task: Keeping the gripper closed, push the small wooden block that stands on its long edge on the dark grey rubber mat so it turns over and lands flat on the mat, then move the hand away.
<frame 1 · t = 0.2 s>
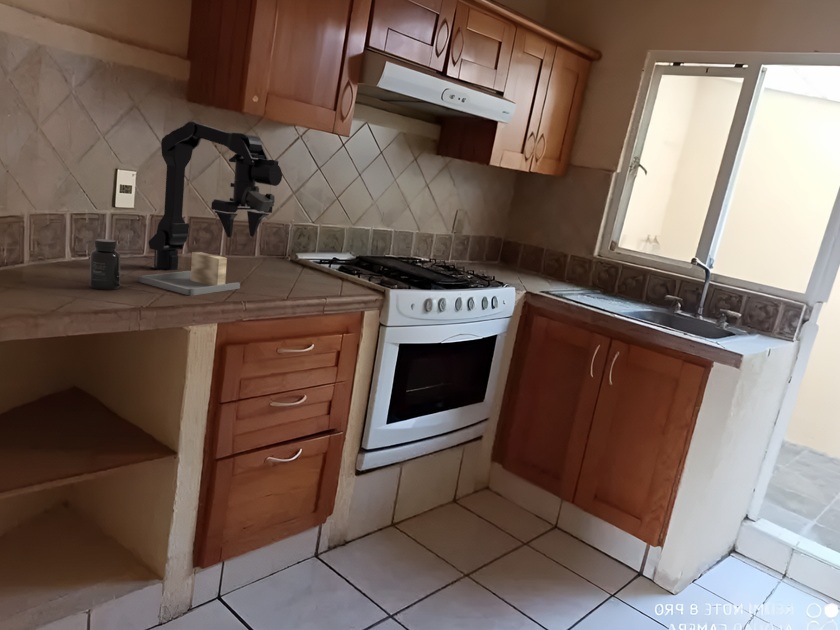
hand: (240, 237, 175), 14 cm above the countertop, tool pointing down, fingers open, 9 cm apart
mat: (190, 286, 170), on the countertop
wooden block: (207, 283, 175), resting on mat
supplement bottle: (104, 288, 157), on the countertop
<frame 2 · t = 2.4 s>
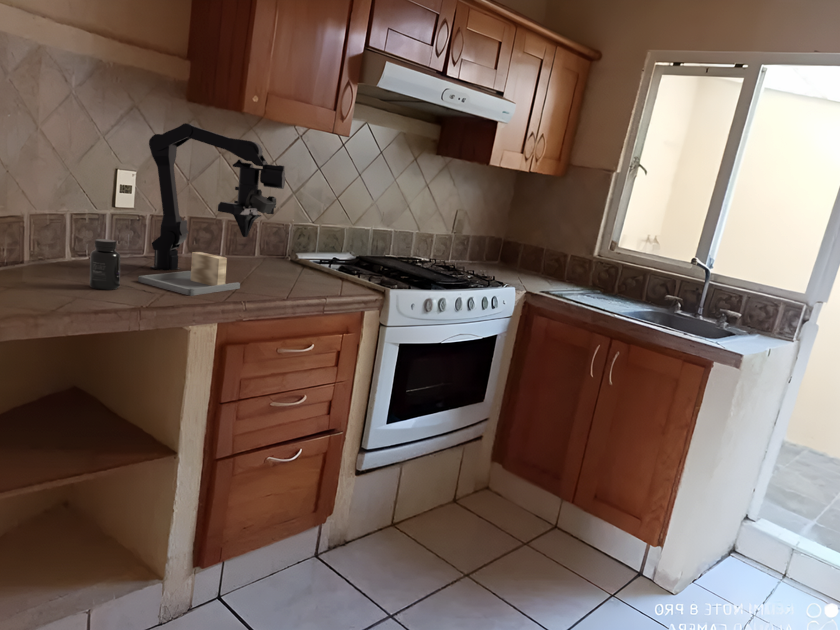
hand: (244, 236, 187), 13 cm above the countertop, tool pointing down, fingers closed
nothing on the countertop moved.
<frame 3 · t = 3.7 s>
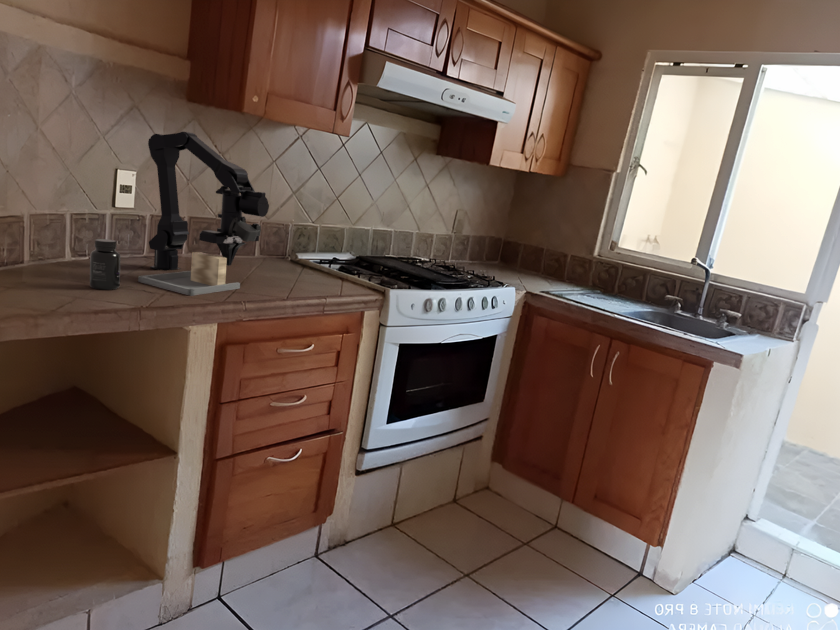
hand: (228, 265, 181), 5 cm above the countertop, tool pointing down, fingers closed
nothing on the countertop moved.
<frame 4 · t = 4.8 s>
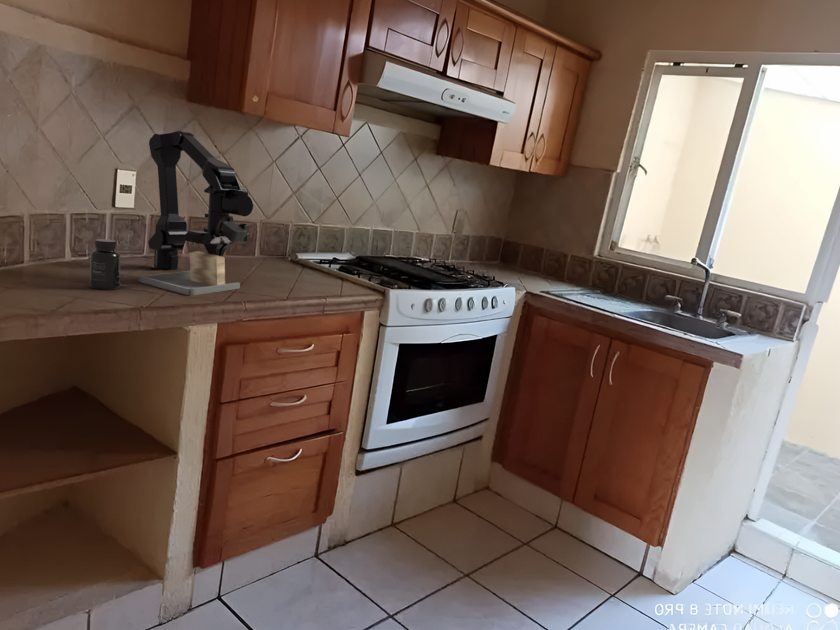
hand: (216, 266, 177), 5 cm above the countertop, tool pointing down, fingers closed
wooden block: (207, 282, 175), point 1 cm above the countertop, tilted 7°, touching mat
everything else where it was.
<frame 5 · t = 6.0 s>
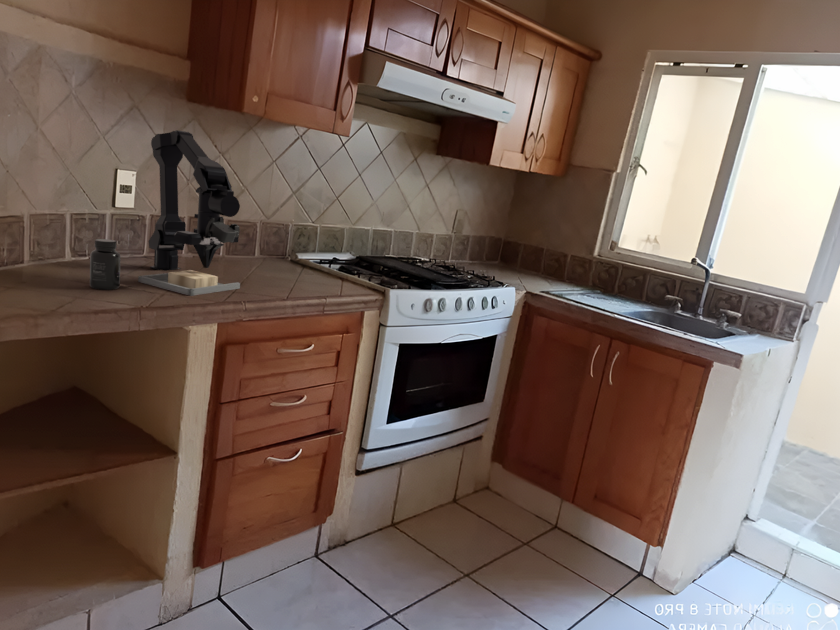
hand: (206, 267, 173), 5 cm above the countertop, tool pointing down, fingers closed
wooden block: (204, 278, 173), point 2 cm above the countertop, tilted 90°, touching mat
everything else where it was.
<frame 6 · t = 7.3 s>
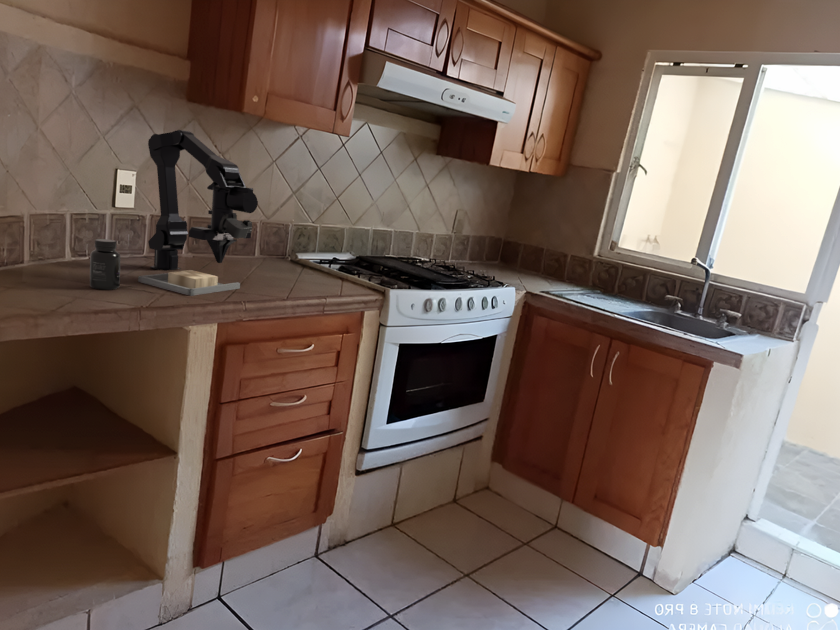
hand: (219, 262, 177), 6 cm above the countertop, tool pointing down, fingers closed
nothing on the countertop moved.
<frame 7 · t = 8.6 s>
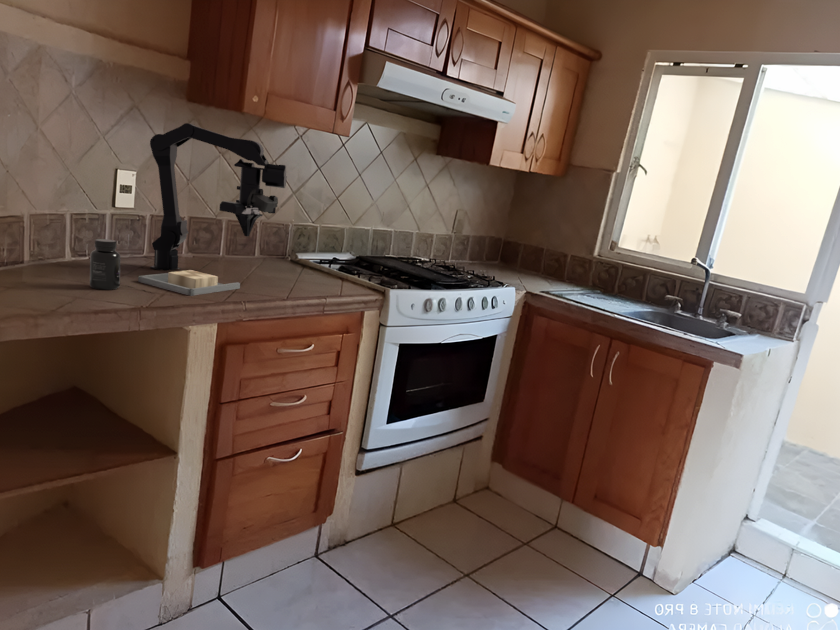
hand: (246, 236, 188), 13 cm above the countertop, tool pointing down, fingers closed
nothing on the countertop moved.
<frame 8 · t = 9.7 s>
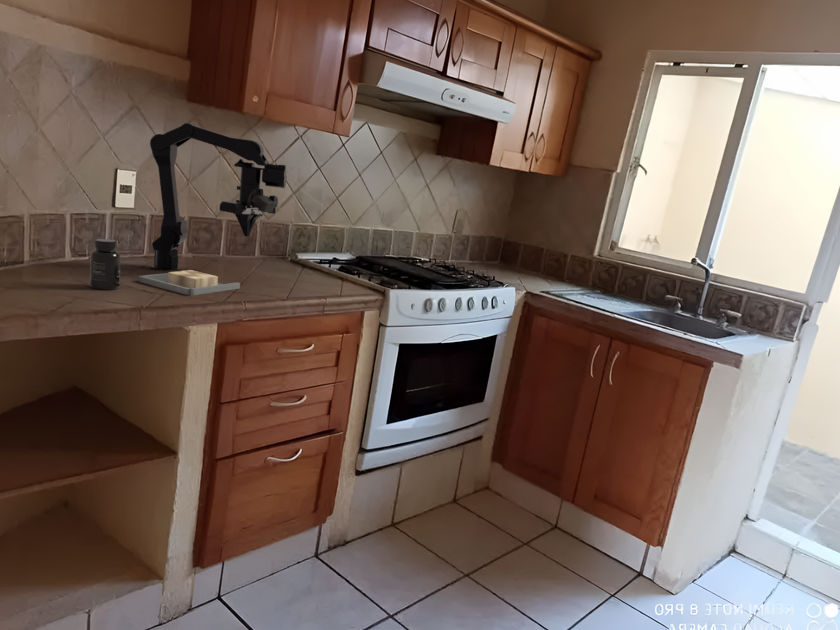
hand: (246, 236, 188), 13 cm above the countertop, tool pointing down, fingers closed
nothing on the countertop moved.
at the end: wooden block tilted 90°; wooden block inside the target area (4.5 cm from its centre), point 2.0 cm above the countertop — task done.
